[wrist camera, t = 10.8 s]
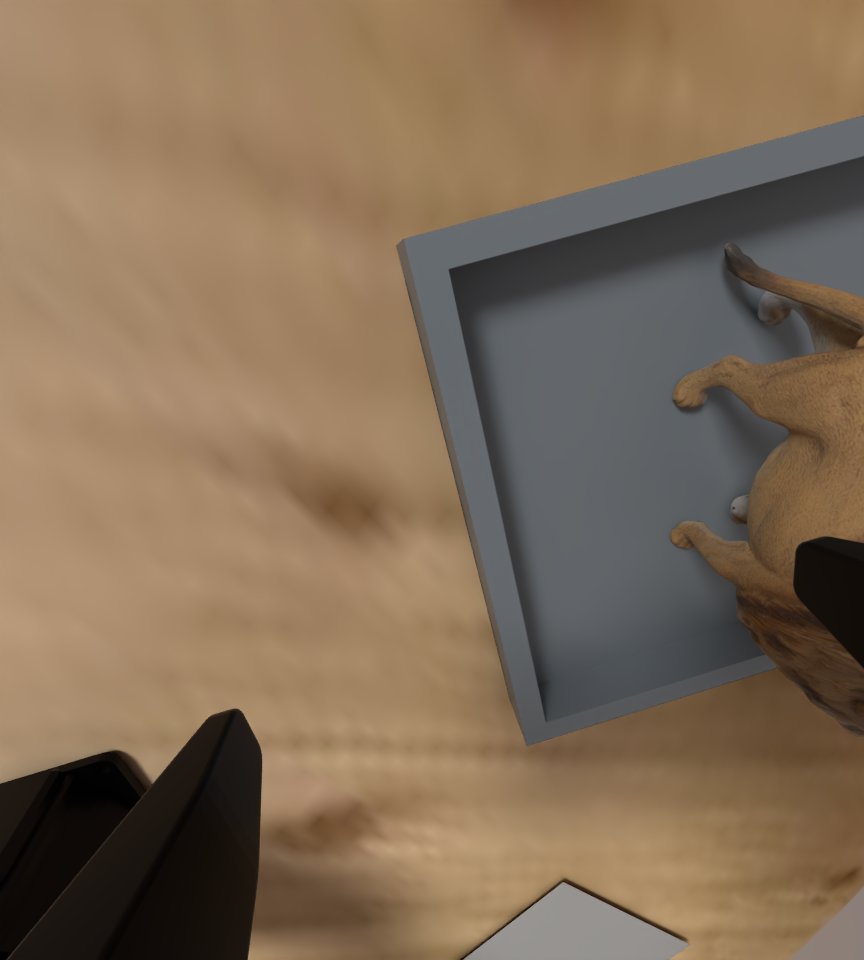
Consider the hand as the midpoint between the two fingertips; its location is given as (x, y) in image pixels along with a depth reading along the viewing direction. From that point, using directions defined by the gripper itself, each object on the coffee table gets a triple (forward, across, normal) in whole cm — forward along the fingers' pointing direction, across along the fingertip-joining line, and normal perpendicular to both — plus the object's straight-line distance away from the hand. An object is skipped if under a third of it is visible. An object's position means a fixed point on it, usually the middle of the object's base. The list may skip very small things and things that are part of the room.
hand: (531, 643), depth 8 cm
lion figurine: (+11, -11, +4) cm, 16 cm away
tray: (+11, -11, +3) cm, 16 cm away
